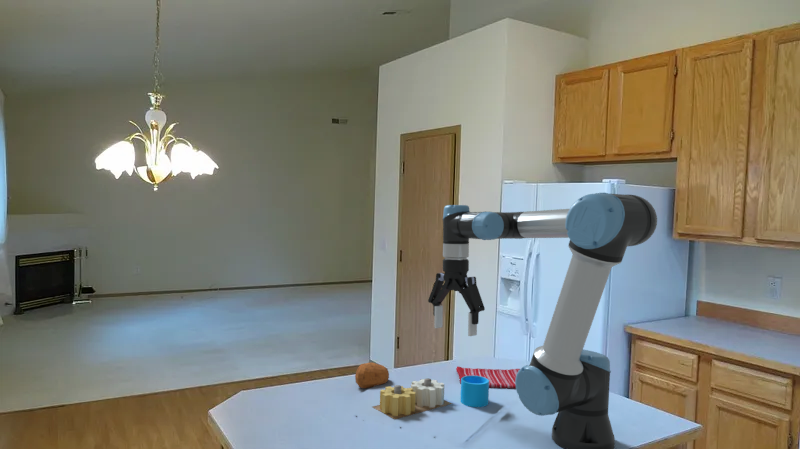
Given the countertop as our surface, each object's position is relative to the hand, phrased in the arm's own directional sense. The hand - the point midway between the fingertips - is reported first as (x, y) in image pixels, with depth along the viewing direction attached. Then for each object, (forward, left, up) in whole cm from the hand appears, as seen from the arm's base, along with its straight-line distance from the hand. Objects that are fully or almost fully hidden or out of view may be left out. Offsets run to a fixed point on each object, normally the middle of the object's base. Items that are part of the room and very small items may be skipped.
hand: (454, 331), depth 160 cm
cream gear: (+5, +5, -21) cm, 22 cm away
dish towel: (+12, -29, -23) cm, 39 cm away
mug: (-1, -7, -23) cm, 24 cm away
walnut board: (+5, +11, -23) cm, 26 cm away
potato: (+29, +9, -23) cm, 38 cm away
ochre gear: (+5, +16, -21) cm, 27 cm away
